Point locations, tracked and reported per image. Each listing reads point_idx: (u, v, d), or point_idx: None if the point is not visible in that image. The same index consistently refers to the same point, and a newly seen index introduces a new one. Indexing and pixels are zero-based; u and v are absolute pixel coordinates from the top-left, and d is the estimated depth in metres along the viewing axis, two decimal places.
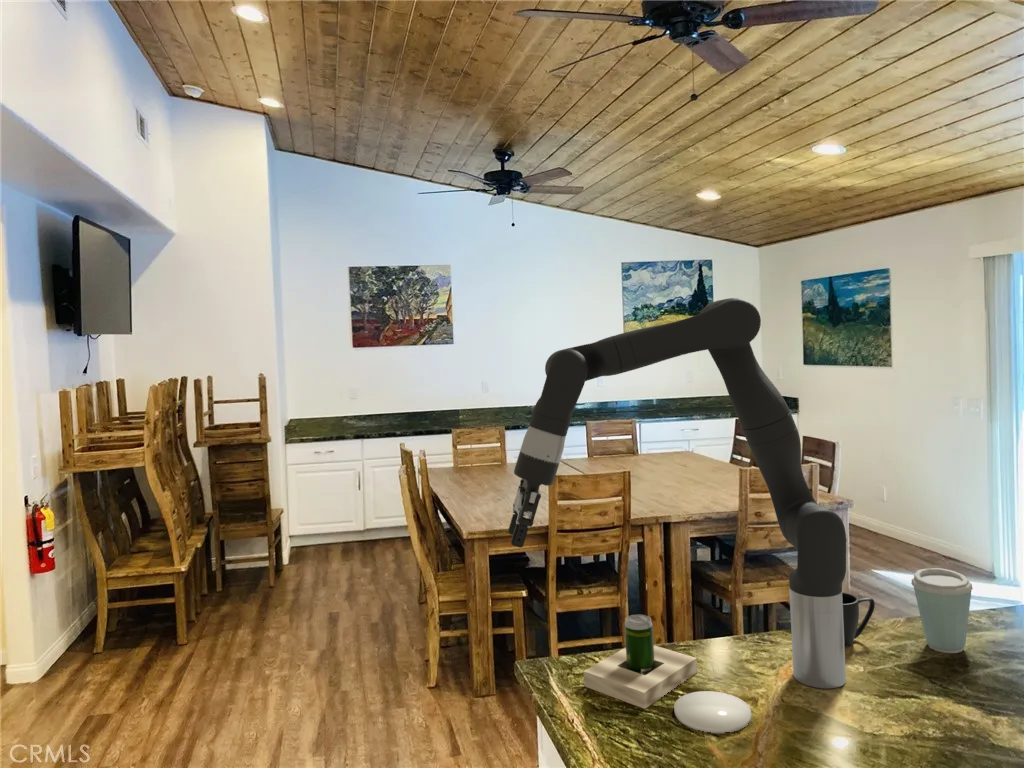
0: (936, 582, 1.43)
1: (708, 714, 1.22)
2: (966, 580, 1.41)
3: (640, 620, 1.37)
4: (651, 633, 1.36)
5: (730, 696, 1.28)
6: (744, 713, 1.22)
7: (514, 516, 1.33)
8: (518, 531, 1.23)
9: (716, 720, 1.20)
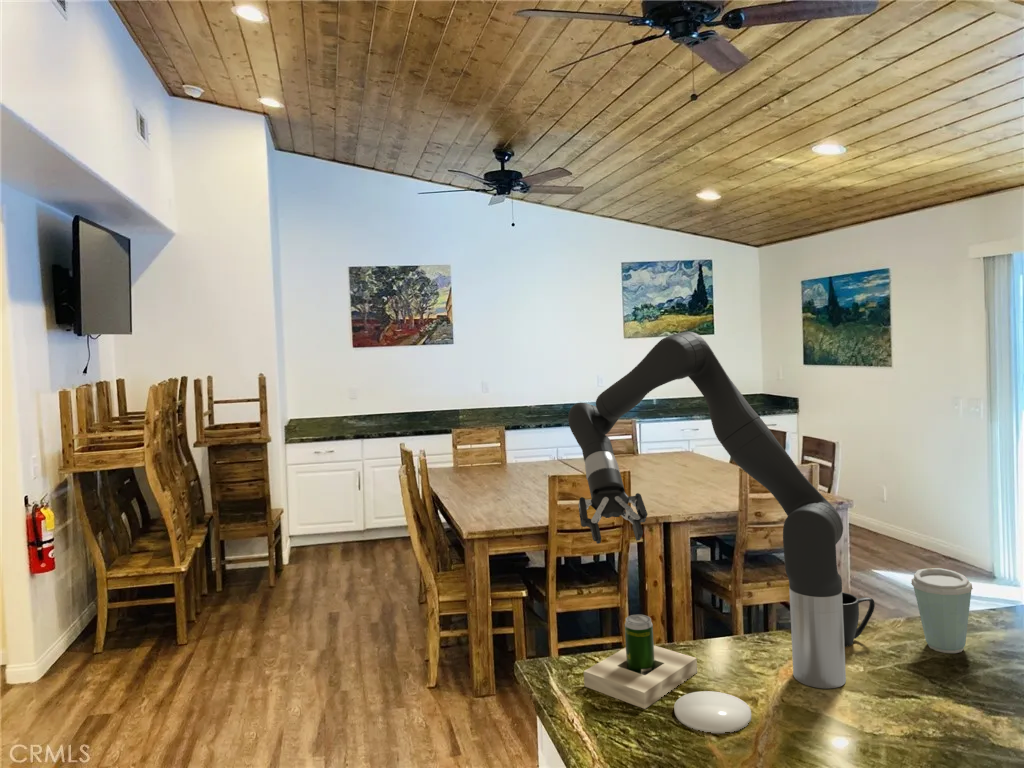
0: (936, 582, 1.43)
1: (708, 714, 1.22)
2: (966, 580, 1.41)
3: (640, 620, 1.37)
4: (651, 633, 1.36)
5: (730, 696, 1.28)
6: (744, 713, 1.22)
7: (633, 526, 1.51)
8: (591, 531, 1.50)
9: (716, 720, 1.20)
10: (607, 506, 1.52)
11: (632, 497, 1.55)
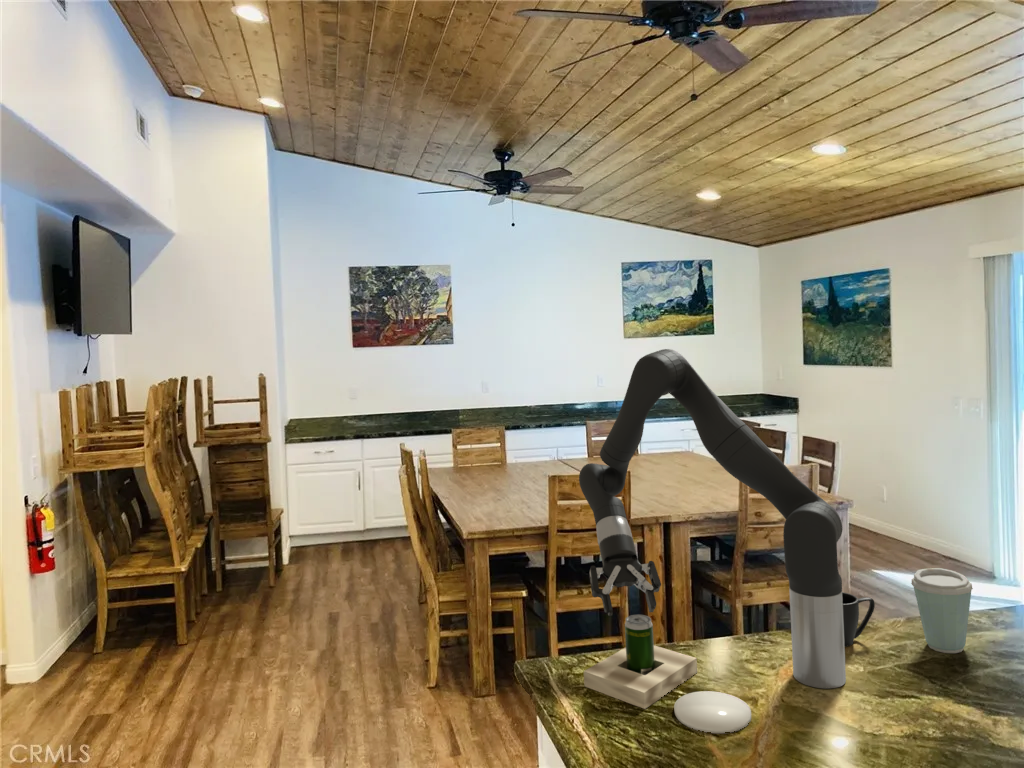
0: (936, 582, 1.43)
1: (708, 714, 1.22)
2: (966, 580, 1.41)
3: (640, 620, 1.37)
4: (651, 633, 1.36)
5: (730, 696, 1.28)
6: (744, 713, 1.22)
7: (646, 596, 1.46)
8: (603, 602, 1.45)
9: (716, 720, 1.20)
10: (619, 575, 1.47)
11: (645, 565, 1.50)
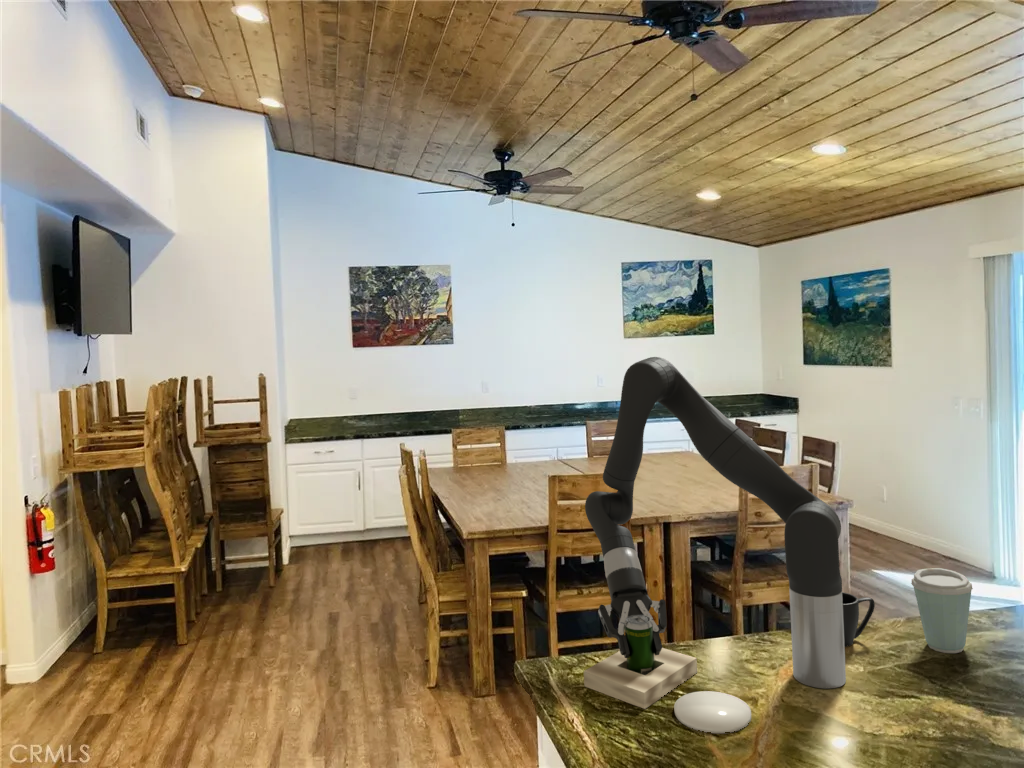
0: (936, 582, 1.43)
1: (708, 714, 1.22)
2: (966, 580, 1.41)
3: (640, 620, 1.37)
4: (651, 633, 1.36)
5: (730, 696, 1.28)
6: (744, 713, 1.22)
7: None
8: (618, 643, 1.38)
9: (716, 720, 1.20)
10: (630, 611, 1.41)
11: (656, 602, 1.43)
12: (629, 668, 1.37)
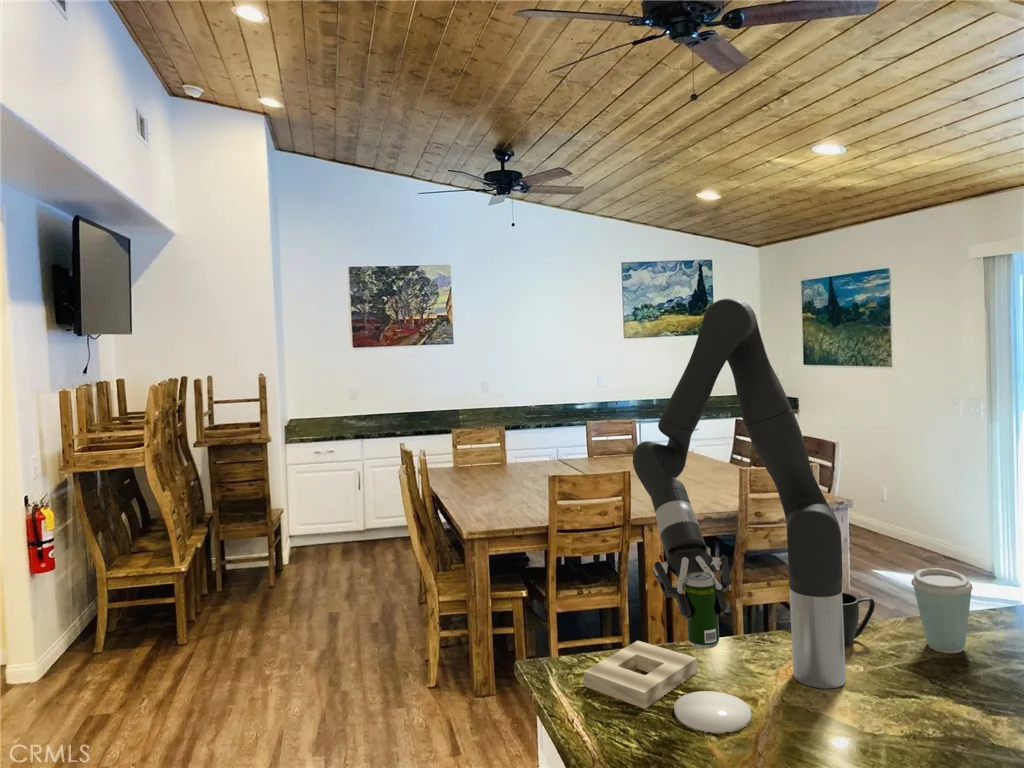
0: (936, 582, 1.43)
1: (708, 714, 1.22)
2: (966, 580, 1.41)
3: (702, 577, 1.24)
4: (715, 591, 1.23)
5: (730, 696, 1.28)
6: (744, 713, 1.22)
7: None
8: (678, 603, 1.25)
9: (716, 720, 1.20)
10: (689, 568, 1.27)
11: (717, 559, 1.29)
12: (690, 630, 1.23)
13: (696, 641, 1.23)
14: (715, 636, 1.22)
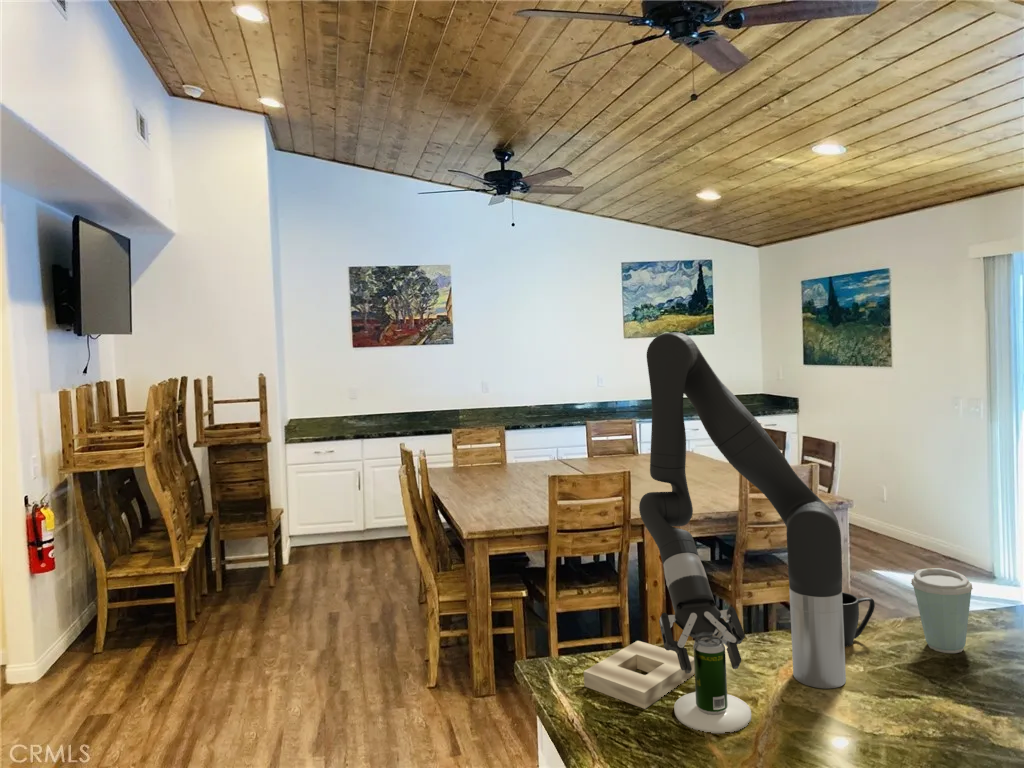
0: (936, 582, 1.43)
1: None
2: (966, 580, 1.41)
3: (711, 642, 1.23)
4: (724, 657, 1.22)
5: (730, 696, 1.28)
6: (744, 713, 1.22)
7: (727, 650, 1.25)
8: (678, 657, 1.24)
9: (716, 720, 1.20)
10: (695, 624, 1.26)
11: (724, 611, 1.29)
12: (699, 696, 1.23)
13: (704, 707, 1.22)
14: (723, 702, 1.22)
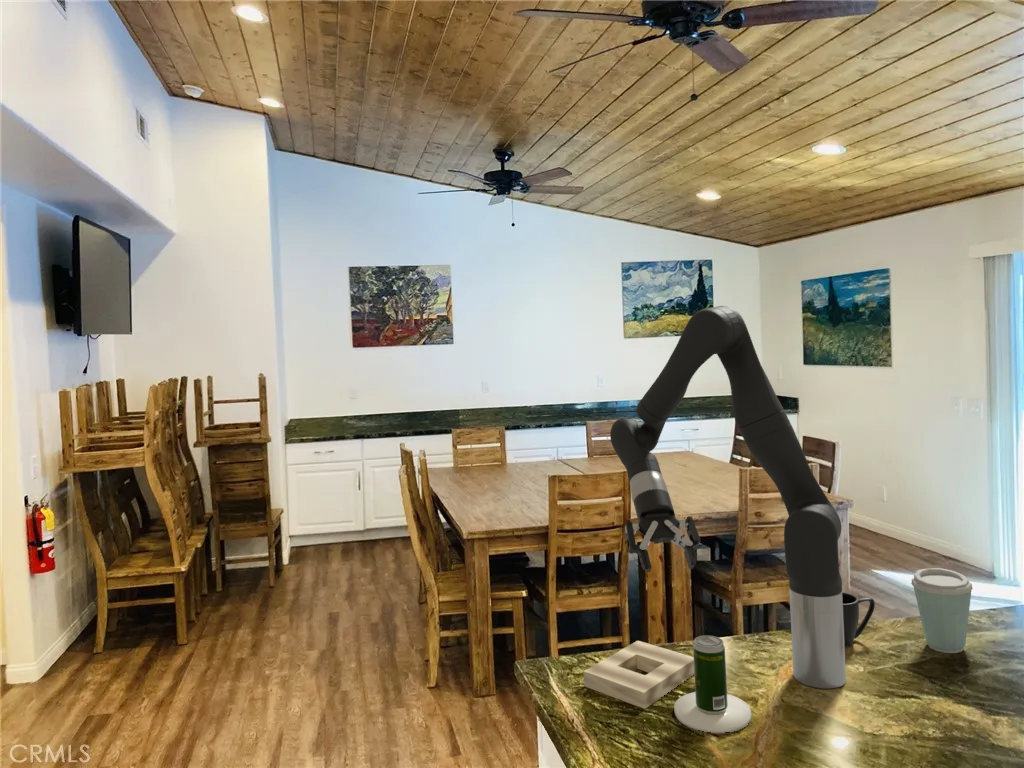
0: (936, 582, 1.43)
1: None
2: (966, 580, 1.41)
3: (711, 642, 1.23)
4: (724, 657, 1.22)
5: (730, 696, 1.28)
6: (744, 713, 1.22)
7: (685, 553, 1.40)
8: (640, 559, 1.38)
9: (716, 720, 1.20)
10: (656, 531, 1.41)
11: (683, 521, 1.43)
12: (699, 696, 1.23)
13: (704, 707, 1.22)
14: (723, 702, 1.22)
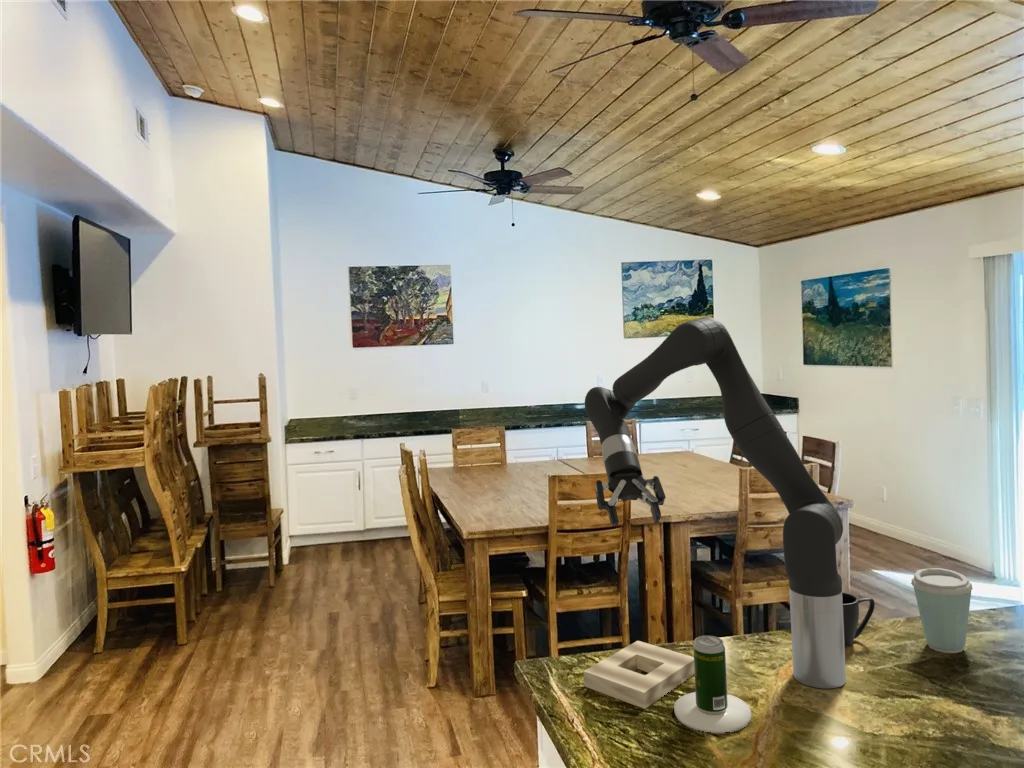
0: (936, 582, 1.43)
1: None
2: (966, 580, 1.41)
3: (711, 642, 1.23)
4: (724, 657, 1.22)
5: (730, 696, 1.28)
6: (744, 713, 1.22)
7: (651, 509, 1.49)
8: None
9: (716, 720, 1.20)
10: (624, 489, 1.50)
11: (650, 480, 1.53)
12: (699, 696, 1.23)
13: (704, 707, 1.22)
14: (723, 702, 1.22)
